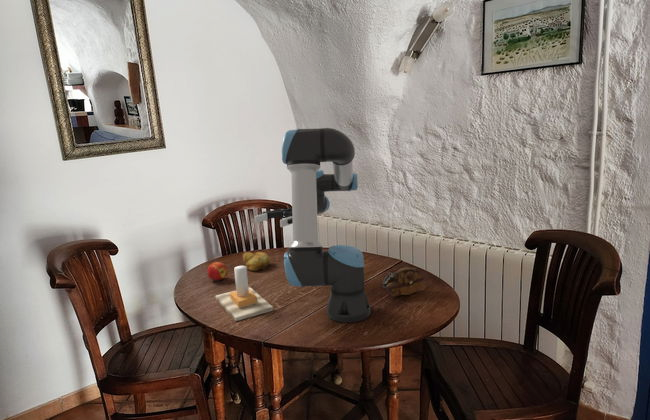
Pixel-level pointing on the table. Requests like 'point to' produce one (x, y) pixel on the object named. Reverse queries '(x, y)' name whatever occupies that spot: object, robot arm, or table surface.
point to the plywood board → (246, 311)
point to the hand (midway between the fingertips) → (267, 221)
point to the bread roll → (256, 260)
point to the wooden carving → (405, 282)
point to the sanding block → (242, 289)
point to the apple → (217, 271)
